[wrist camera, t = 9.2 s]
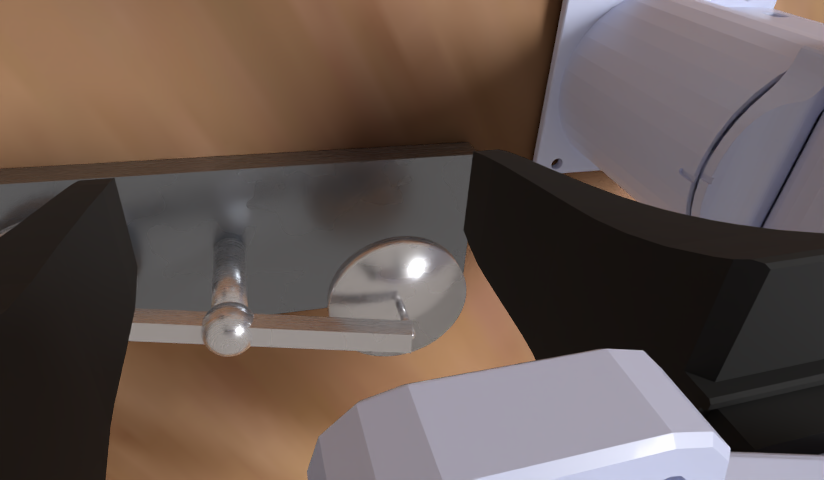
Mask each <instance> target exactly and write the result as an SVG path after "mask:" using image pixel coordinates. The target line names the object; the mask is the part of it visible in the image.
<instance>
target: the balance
mask: <svg viewBox="0 0 824 480" xmlns="http://www.w3.org/2000/svg"><path fill="white" fill-rule="evenodd" d="M473 151H476V150H475V149H474V148H473V147H472V146H471V144H470V143H469V142H462V143H445V144H427V145H410V146H392V147H375V148H357V149H340V150H323V151H305V152H288V153H270V154H253V155H236V156H218V157H201V158H183V159H166V160H148V161H131V162H114V163H96V164H79V165H61V166H44V167H27V168H9V169H0V237H1V236H2V235H4V234H5V233H6V232H8V231H9V230H11V229H12V228H14V227H15V226H16V225H18V224H19V223H20V222H22V221H23V220H24V219H26V218H27V217H28V216H30V215H31V214H32V213H34V212H35V211H36V210H38V209H39V208H41V207H42V206H43V205H44V204H46V203H47V202H48V201H50V200H51V199H52V198H54V197H55V196H56V195H58V194H59V193H60V192H62V191H63V190H64V189H66V188H67V187H69V186H70V185H72V184H73V183H75V182H77V181H79V180H92V179H106V178H115V181H116V185H117V189H118V193H119V197H120V201H121V204H122V208H123V212H124V216H125V220H126V224H127V228H128V232H129V236H130V239H131V243H132V247H133V251H134V255H135V259H136V263H137V289H136V304H135V312H134V317H133V322H132V326H131V331H130V336H129V340H128V341H142V342H165V343H188V344H205V346H206V347H207V348H208V349H209V350H210V351H211V352H213V353H214V354H217V355H220V356H224V357H232V356H236V355H239V354H241V353H243V352H245V351H246V350H247V349H249V348H250V347H251V346H257V347H280V348H303V349H326V350H349V351H358V352H361V353H364V354H368V355H374V356H395V355H401V354H406V353H411V352H413V351H415V350H418V349H420V348H423V347H425V346H427V345H428V344H430V343H432V342H433V341H435V340H436V339H438V338H439V337H440V336H442V335H443V334H444V333H445V332H446V331H447V330H448V329H449V328H450V327H451V326H452V325H453V324H454V322H455V321H456V319H457V318H458V316H459V314H460V313H461V311H462V308H463V306H464V303H465V298H466V282H465V278H464V275H463V271H464V264H465V256H466V248H467V238H466V235H465V233H464V231H463V230H464V221H465V213H466V205H467V197H468V189H469V181H470V173H471V165H472V157H473ZM320 308H328V313H329V317H318V316H296V315H274V314H280V313H288V312H296V311H304V310H312V309H320Z"/></svg>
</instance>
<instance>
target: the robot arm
mask: <svg viewBox="0 0 824 480" xmlns="http://www.w3.org/2000/svg"><path fill="white" fill-rule="evenodd" d="M776 1H777V0H563V3H562V8H561V13H560V19H559V24H558V29H557V35H556V40H555V45H554V51H553V56H552V61H551V67H550V72H549V78H548V83H547V88H546V94H545V99H544V104H543V110H542V115H541V120H540V126H539V131H538V136H537V142H536V147H535V152H534V158H533V161H531V160H529V159H526V158H524V157H521V156H518V155H516V154H513V153H510V152H507V151H503V150H486V151H473V157H472V165H471V173H470V181H469V189H468V197H467V205H466V213H465V221H464V230H463V231H464V233H465V235H466V238H467V240H468V243H469V245H470V248H471V250H472V252H473V255H474V257H475V259H476V261H477V264H478V265H479V267H480V269H481V270H482V272H483V274H484V275H485V277H486V279H487V280H488V282H489V283H490V285H491V287H492V288H493V290H494V291H495V293H496V295H497V296H498V298H499V299H500V301H501V302H502V304H503V306H504V307H505V309H506V310H507V312H508V313H509V315H510V317H511V318H512V320H513V321H514V323H515V324H516V326H517V327H518V329H519V331H520V332H521V334H522V335H523V337H524V339H525V341H526V342H527V344H528V346H529V348H530V349H531V351H532V353H533V355H534V357H535V359H536V361H530V362H525V363H519V364H514V365H508V366H503V367H497V368H492V369H486V370H481V371H475V372H470V373H464V374H459V375H453V376H448V377H442V378H437V379H431V380H426V381H420V382H415V383H409V384H404V385H401V386H399V387H396V388H393V389H391V390H388V391H385V392H383V393H380V394H377V395H374V396H372V397H369V398H366V399H364V400H361V401H359V402H358V403H356V404H355V405H354V406H353V407H352V408H351V409H350V410H348V411H347V412H346V413H345V414H344V415H343V416H342V417H340V418H339V419H338V420H337V421H336V422H335V423H334V424H332V425H331V426H330V427H329V428H328V429H327V430H326V431H324V432H323V433H322V434H321V435H320V436H319V437H318V440H317V443H316V446H315V449H314V452H313V455H312V458H311V461H310V464H309V467H308V470H307V476H308V480H824V23H820V22H817V21H813V20H810V19H806V18H803V17H799V16H796V15H793V14H789V13H786V12H782V11H779V10H775V9H774V6H775V3H776ZM555 159H558V162H557V163H556V164H555V165H551V164H552V162H553V161H554V160H555ZM598 170H601V171H603V172H604V173H605V174H606V175H607V176H608V177H610V178H611V179H612V180H613V181H614V182H615V183H617V184H618V185H619V186H620V187H621V188H622V189H624V190H625V191H626V192H627V193H628V194H629V195H631V196H632V197H633V198H634V199H635V200H636V201H637V202H636V201H633V200H630V199H627V198H624V197H621V196H618V195H615V194H612V193H610V192H607V191H604V190H601V189H599V188H596V187H593V186H591V185H588V184H586V183H583V182H581V181H578V180H576V179H573V178H571V177H569V176H566V175H564V174H561V173H571V172H585V171H598ZM136 289H137V263H136V259H135V255H134V251H133V247H132V243H131V239H130V236H129V232H128V228H127V224H126V220H125V216H124V212H123V208H122V204H121V201H120V197H119V193H118V189H117V185H116V181H115V178H106V179H92V180H79V181H77V182H75V183H73V184H72V185H70V186H69V187H67V188H66V189H64V190H63V191H62V192H60V193H59V194H58V195H56V196H55V197H54V198H52V199H51V200H50V201H48V202H47V203H46V204H44V205H43V206H42V207H41V208H39V209H38V210H36V211H35V212H34V213H32V214H31V215H30V216H28V217H27V218H26V219H24V220H23V221H22V222H20V223H19V224H18V225H16V226H15V227H14V228H12V229H11V230H9V231H8V232H6V233H5V234H4V235H2V236H1V237H0V480H105V479H106V467H107V457H108V446H109V436H110V426H111V420H112V414H113V408H114V403H115V398H116V394H117V389H118V385H119V380H120V376H121V371H122V367H123V363H124V358H125V354H126V349H127V345H128V340H129V336H130V331H131V326H132V322H133V317H134V312H135V304H136Z"/></svg>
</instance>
